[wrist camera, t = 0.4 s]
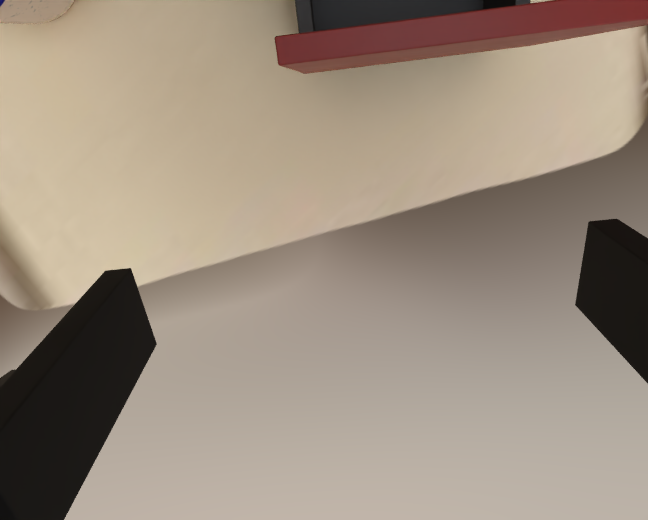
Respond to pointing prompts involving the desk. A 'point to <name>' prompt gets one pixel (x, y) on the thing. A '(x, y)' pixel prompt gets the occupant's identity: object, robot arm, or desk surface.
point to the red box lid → (456, 33)
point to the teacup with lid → (32, 10)
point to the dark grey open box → (382, 11)
